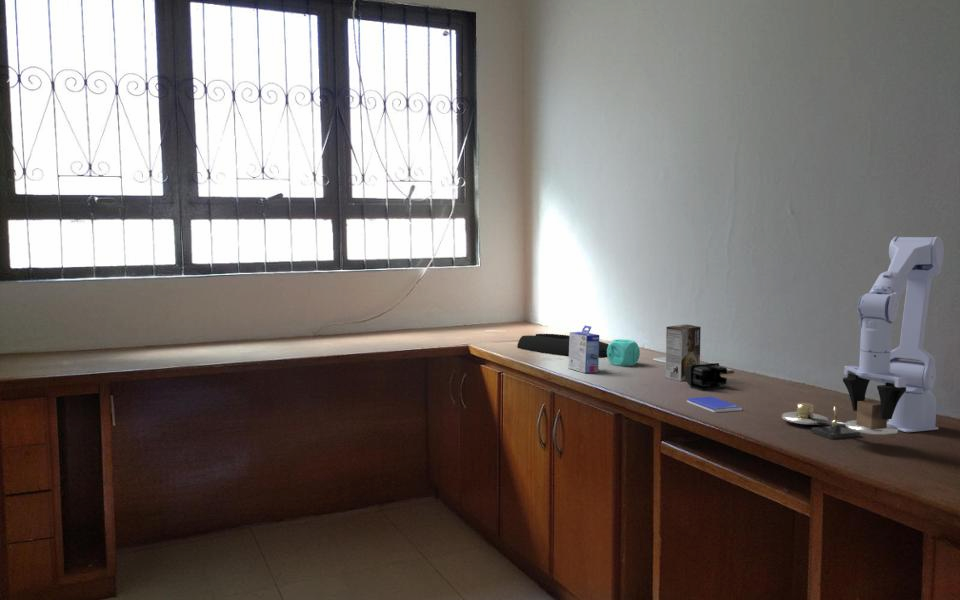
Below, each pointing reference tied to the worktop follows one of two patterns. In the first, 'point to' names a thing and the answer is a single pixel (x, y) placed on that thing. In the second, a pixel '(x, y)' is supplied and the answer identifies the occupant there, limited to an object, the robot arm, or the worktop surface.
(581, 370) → the ink cartridge box
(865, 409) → the walnut block
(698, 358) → the coffee box
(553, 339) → the docking station
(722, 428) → the worktop surface
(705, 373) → the black electrical connector
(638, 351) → the decorative dice
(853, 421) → the balance
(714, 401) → the hard drive
